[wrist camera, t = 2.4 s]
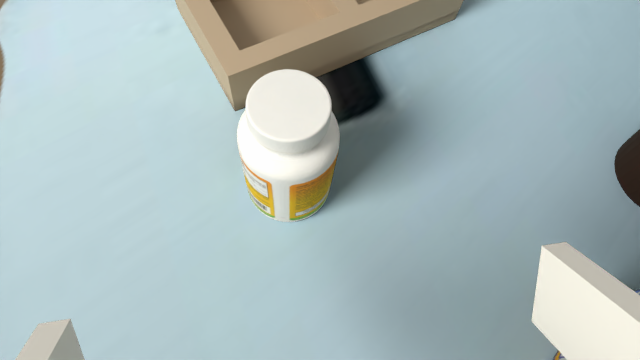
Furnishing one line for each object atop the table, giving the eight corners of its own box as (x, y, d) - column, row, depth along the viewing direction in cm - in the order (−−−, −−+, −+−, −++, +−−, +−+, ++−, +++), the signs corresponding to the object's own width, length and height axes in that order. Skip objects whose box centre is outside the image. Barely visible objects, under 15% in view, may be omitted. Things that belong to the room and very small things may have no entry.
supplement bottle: (334, 155, 30) (353, 65, 21) (323, 230, 28) (339, 164, 19) (256, 143, 30) (243, 47, 21) (239, 216, 28) (216, 144, 19)
